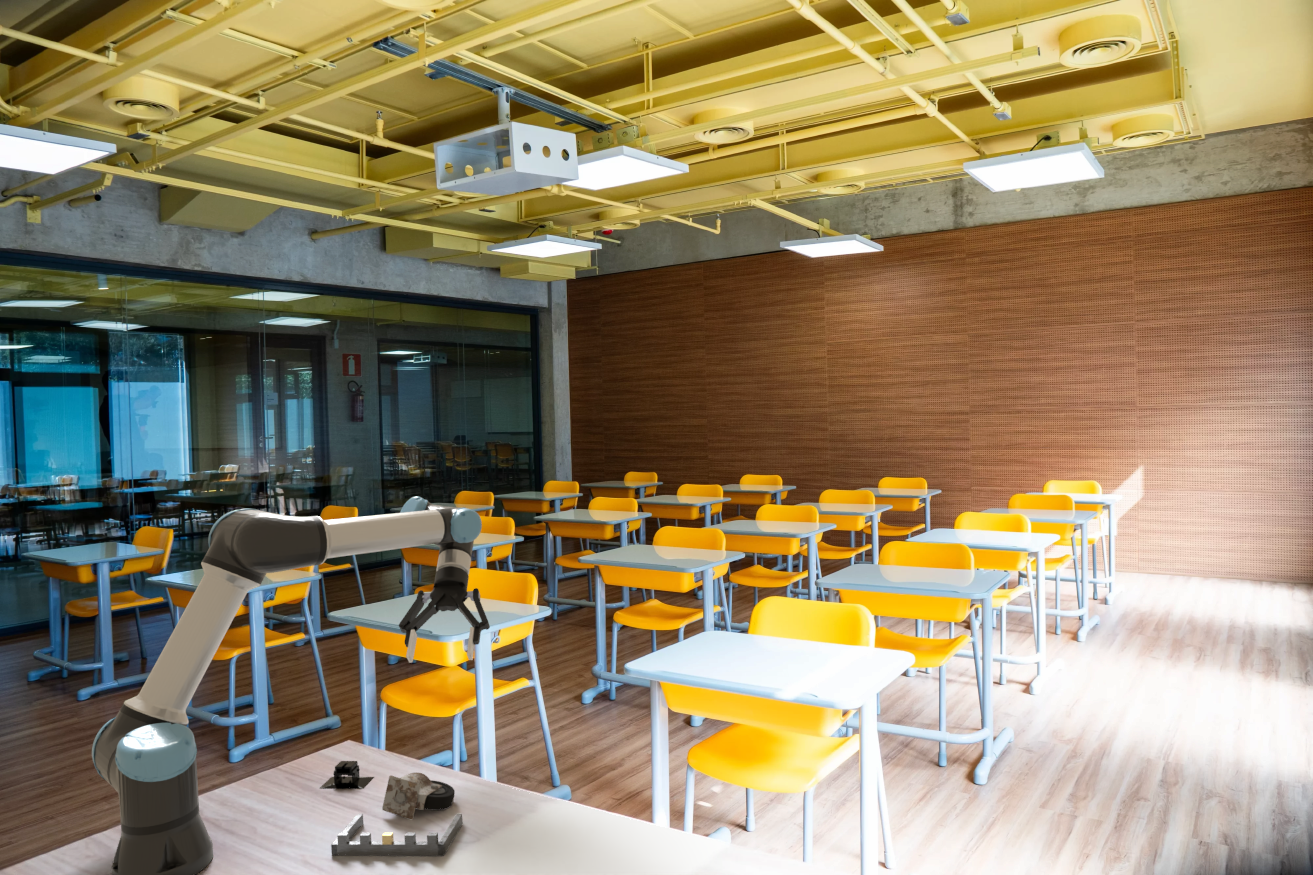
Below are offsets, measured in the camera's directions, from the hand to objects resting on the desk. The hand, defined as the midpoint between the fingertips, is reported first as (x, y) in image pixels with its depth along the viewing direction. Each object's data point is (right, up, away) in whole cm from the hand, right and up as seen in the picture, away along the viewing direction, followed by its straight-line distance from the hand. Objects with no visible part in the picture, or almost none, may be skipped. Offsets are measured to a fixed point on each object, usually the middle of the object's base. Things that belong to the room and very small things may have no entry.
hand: (439, 658), depth 182 cm
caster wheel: (+1, -25, -17) cm, 30 cm away
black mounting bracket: (-18, -25, -5) cm, 32 cm away
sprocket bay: (0, -25, -29) cm, 38 cm away
